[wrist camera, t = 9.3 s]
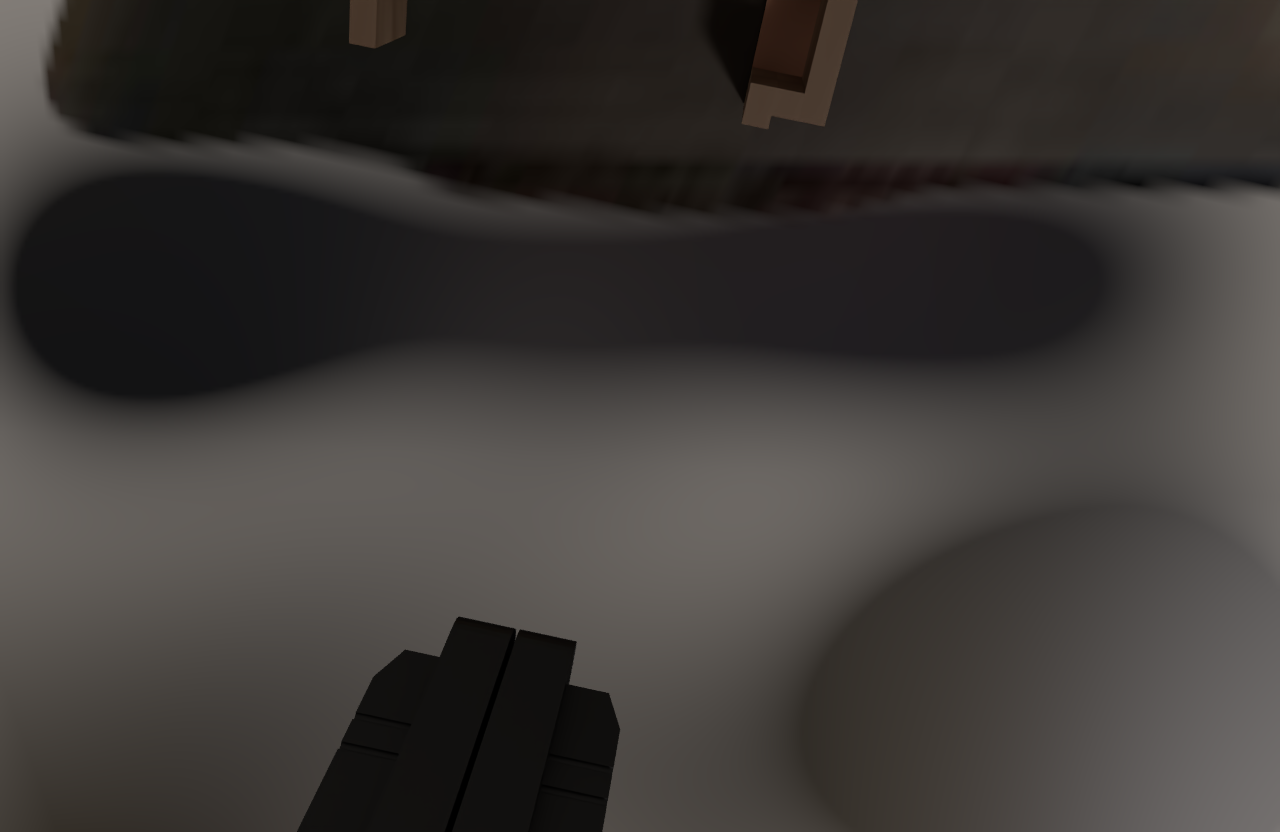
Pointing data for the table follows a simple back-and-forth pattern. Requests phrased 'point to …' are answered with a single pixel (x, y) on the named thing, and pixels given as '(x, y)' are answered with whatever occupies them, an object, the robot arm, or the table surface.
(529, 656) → the robot arm
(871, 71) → the table surface
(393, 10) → the box
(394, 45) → the table surface
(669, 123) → the table surface
